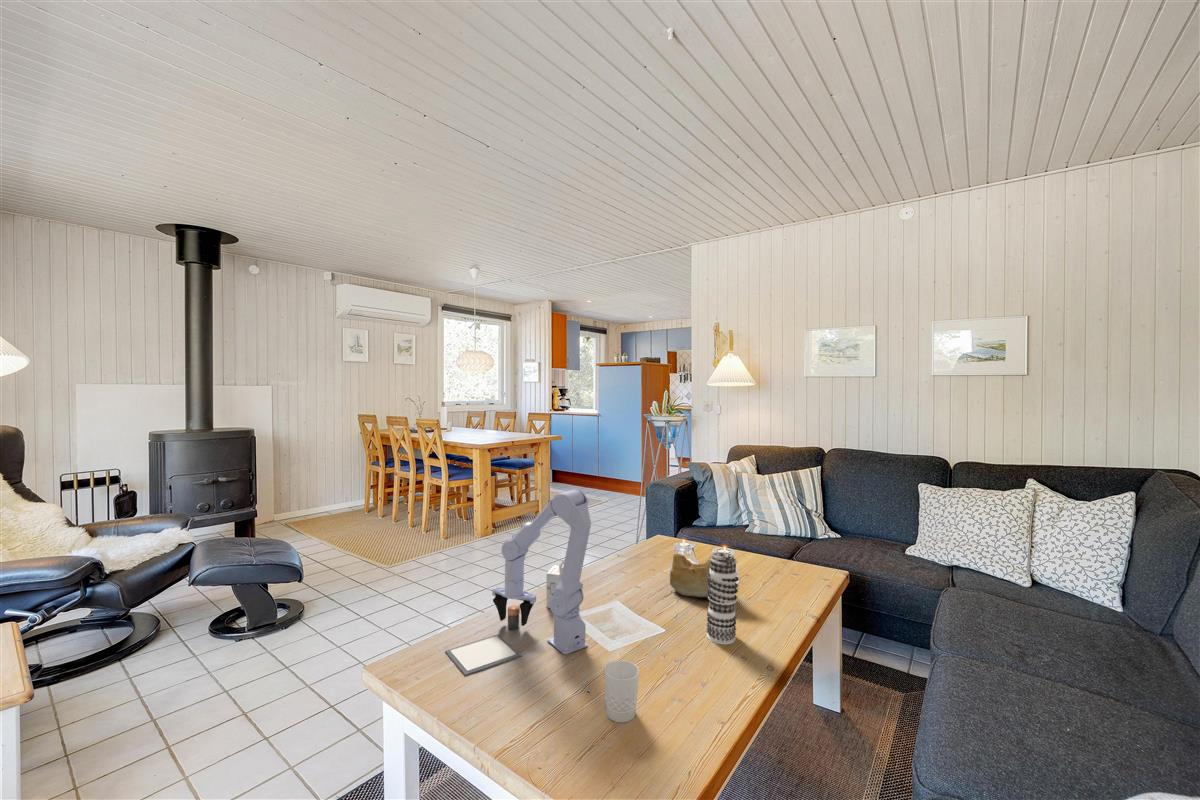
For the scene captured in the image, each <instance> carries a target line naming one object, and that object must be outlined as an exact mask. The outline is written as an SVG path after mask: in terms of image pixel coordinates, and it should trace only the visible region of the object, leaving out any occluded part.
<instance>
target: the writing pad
mask: <svg viewBox="0 0 1200 800" xmlns="http://www.w3.org/2000/svg"><path fill="white" fill-rule="evenodd" d="M444 653H445V654H446V656H447V657H449V659H450V660H451V661H452V662H453V664H454V665H455V666H456V667H457V668H458V669H459V671H460V672H461V673H462V674H463V675H464V677H467V676H469V675H473V674H475V673H479V672H481V671H484V670H487V669H489V668H493V667H495V666H498V665H500V664H504V663H507V662H510V661H514V660H516V659H518V658H521V657H522V654H521V653H520V652H518V651H517V650H516V649H515V648H514V647H513V646H512V645H511V644H509V642H507V641H506V640H505V639H504V637H502V636H501V635H500V634H495V635H492V636H491V635H490V636H488V637H485V638H483V639H479V640H475V641H472V642H469V643H465V644H463V645H459V646H457V647H453V648H450V649H446V650H445V651H444Z"/></svg>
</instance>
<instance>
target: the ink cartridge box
mask: <svg viewBox="0 0 1200 800" xmlns="http://www.w3.org/2000/svg"><path fill="white" fill-rule="evenodd" d="M564 561H565V558H564V559H563V560H562V562H561V563H559V564H558V565H557V564H554V565H553V566H552V567H551V568H550V569H549V570H548V571H547V572H546V608H547V609H550V605H549V602H550V599H551V597H552V596H553V595H554V592H555V589H556V587H557V585H558V584H559V582H560V580H561V577H562V572H563V566H564Z"/></svg>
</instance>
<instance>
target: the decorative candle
mask: <svg viewBox="0 0 1200 800" xmlns="http://www.w3.org/2000/svg"><path fill="white" fill-rule="evenodd" d="M709 559H710V573H708V575H707V577H708V580H707V582H708V583H707V584H708V587H707V589H708V592H707V593H708V594H707V595H708V597H707V599H708V601H709V602H708V603H709V604H708V611H707V617H706V621H707V622H706V638H707V639H708V640H709V641H711V642H712V643H714V644H718V645H731V644H734V643H735V642H736V636H737V633H736V631H737V626H736V624H737V621H736V620H737V615H736V608H735V607H736V605H735V604H736V603H737V600H738V596H737V594H738V592H739V591H738V587H739V585H738V583H736V582H738V581H739V577H738V574H739V573H738V572H737V563H738V560H737V559H736V558H735V557H734V556H733V555H732V553H729V552H723V551H720V552H714V553H713V554H712V555H711V556H710V557H709ZM709 559H708V560H709ZM709 576H710V577H709ZM709 581H710V582H709ZM734 641H735V642H734Z"/></svg>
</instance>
